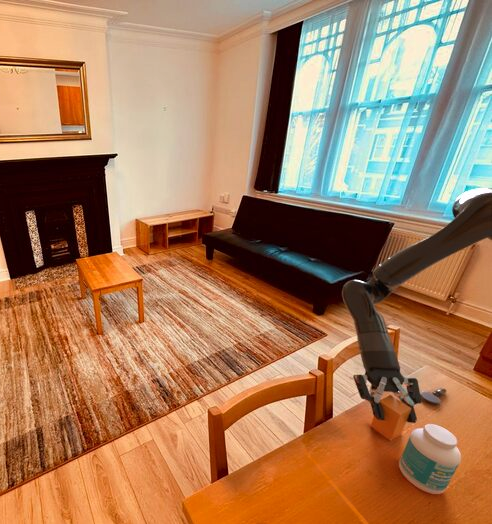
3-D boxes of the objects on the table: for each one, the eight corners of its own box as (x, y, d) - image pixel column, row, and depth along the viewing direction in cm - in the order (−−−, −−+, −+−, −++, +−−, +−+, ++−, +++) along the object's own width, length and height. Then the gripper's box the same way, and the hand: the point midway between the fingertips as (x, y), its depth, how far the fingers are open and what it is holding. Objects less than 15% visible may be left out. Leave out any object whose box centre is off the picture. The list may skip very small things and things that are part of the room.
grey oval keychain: (434, 386, 83) (436, 383, 82) (452, 396, 79) (454, 392, 79) (416, 396, 80) (418, 393, 79) (434, 407, 76) (436, 403, 76)
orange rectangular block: (381, 420, 74) (390, 394, 70) (401, 434, 70) (411, 408, 66) (370, 426, 72) (379, 400, 69) (390, 441, 68) (400, 414, 65)
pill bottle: (428, 501, 56) (451, 457, 51) (389, 465, 63) (406, 423, 58) (453, 489, 58) (477, 445, 53) (413, 455, 65) (431, 413, 60)
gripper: (355, 348, 72) (373, 420, 65) (417, 350, 70) (442, 426, 63) (340, 351, 79) (355, 417, 72) (397, 354, 76) (417, 422, 70)
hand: (396, 421), depth 67 cm, fingers closed on orange rectangular block, 6 cm apart
